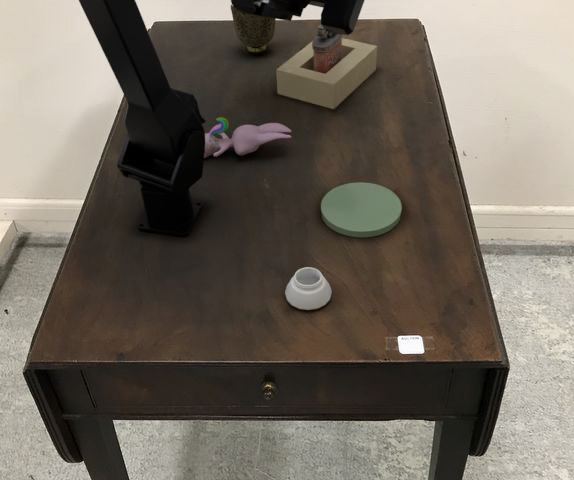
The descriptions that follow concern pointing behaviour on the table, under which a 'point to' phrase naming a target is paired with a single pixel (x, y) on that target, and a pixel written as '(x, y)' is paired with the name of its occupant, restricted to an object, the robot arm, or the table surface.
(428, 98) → the table surface
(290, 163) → the table surface
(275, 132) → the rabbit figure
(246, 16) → the cup
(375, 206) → the plate
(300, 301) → the white jar
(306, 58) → the hollow beige frame
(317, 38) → the lighter
